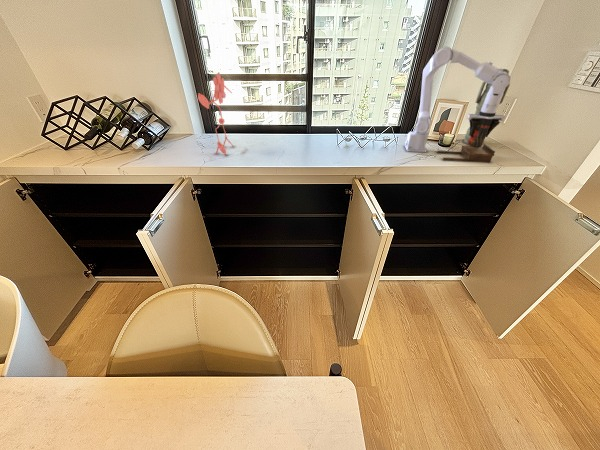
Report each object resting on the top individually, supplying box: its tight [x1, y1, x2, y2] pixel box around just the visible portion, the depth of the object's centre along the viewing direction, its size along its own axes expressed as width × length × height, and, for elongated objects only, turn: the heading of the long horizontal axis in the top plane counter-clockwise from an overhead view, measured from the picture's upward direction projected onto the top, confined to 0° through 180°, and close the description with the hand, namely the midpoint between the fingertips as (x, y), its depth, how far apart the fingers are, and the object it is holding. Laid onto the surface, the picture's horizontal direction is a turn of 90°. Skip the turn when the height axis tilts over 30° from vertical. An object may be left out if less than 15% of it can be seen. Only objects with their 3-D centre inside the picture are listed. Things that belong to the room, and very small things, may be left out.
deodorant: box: [466, 111, 497, 148], centre depth 117 cm, size 6×6×15 cm
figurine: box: [197, 72, 248, 159], centre depth 122 cm, size 15×26×35 cm, turn 172°
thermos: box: [463, 68, 511, 145], centre depth 132 cm, size 9×12×35 cm
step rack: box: [436, 143, 496, 163], centre depth 124 cm, size 21×10×5 cm, turn 82°
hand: (477, 136), depth 119 cm, fingers closed on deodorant, 6 cm apart
